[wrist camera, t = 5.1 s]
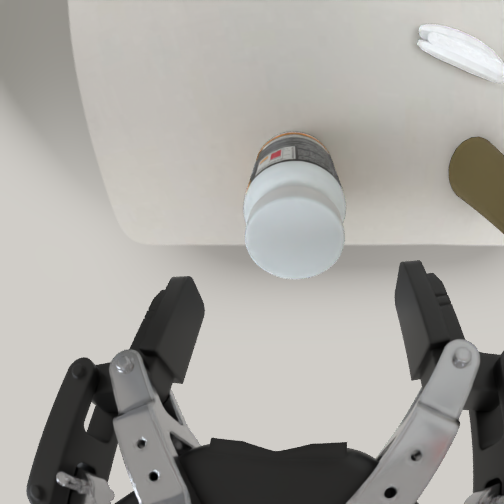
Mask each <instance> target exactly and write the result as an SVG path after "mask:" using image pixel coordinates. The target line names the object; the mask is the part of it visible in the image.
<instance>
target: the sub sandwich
mask: <svg viewBox="0 0 504 504" xmlns="http://www.w3.org/2000/svg"><path fill="white" fill-rule="evenodd" d="M419 35H420V37H421V38H422V39H424V40H420V39H418V43H417V45H418V46H419V47H420V48H421V49H422V50H423V51H425V52H427V53H429V54H430V55H432V56H434V57H436V58H438V59H440V60H442V61H444V62H447V63H449V64H451V65H453V66H455V67H457V68H460V69H462V70H464V71H467V72H469V73H471V74H473V75H476V76H479V77H481V78H484V79H486V80H488V81H491V82H495V83H499V84H501V83H503V82H504V77H502V76H504V64H503V61H502V60H501V58H500V57H499V56H498V55H497V54H496V53H495V52H494V51H493V50H492V49H491V48H490V47H489V46H487V45H486V44H484V43H483V42H482V41H480V40H479V39H477V38H475V37H473V36H471V35H469V34H467V33H465V32H463V31H461V30H458V29H454V28H451V27H448V26H444V25H440V24H425V25H422V26H420V28H419Z"/></svg>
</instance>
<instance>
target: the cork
mask: <svg viewBox="0 0 504 504" xmlns="http://www.w3.org/2000/svg"><path fill="white" fill-rule="evenodd" d="M449 181H450V184H451V187H452V189H453V191H454V192H455V193H456V195H457V196H458V197H460V198H461V199H462V200H464V201H465V202H466V203H468V204H469V205H470V206H471V207H473V208H474V209H475V210H476V211H478V212H479V213H480V214H481V215H482V216H484V217H485V218H486V219H487V220H488V221H490V222H491V223H492V224H493V225H494V226H495V227H496V228H498V229H499V230H500V231H501V232H502V233H503V234H504V155H503V154H502V153H501V152H500V151H499V150H498V149H497V148H496V147H495V146H493V145H492V144H491V143H490V142H489V141H488V140H487V139H484V138H481V137H473V138H470V139H468V140H466V141H464V142H462V144H461V145H460V146H459V147H458V148H457V149H456V150H455V152H454V154H453V156H452V158H451V162H450V166H449Z"/></svg>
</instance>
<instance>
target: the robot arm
mask: <svg viewBox="0 0 504 504" xmlns="http://www.w3.org/2000/svg"><path fill="white" fill-rule="evenodd" d="M395 306H396V310H397V314H398V318H399V322H400V326H401V331H402V335H403V339H404V344H405V348H406V353H407V358H408V363H409V369H410V374H411V380H418V379H421V384H422V388H421V389H420V391H419V393H418V395H417V397H416V398H415V400H414V402H413V404H412V405H411V407H410V409H409V410H408V412H407V414H406V415H405V417H404V419H403V420H402V422H401V423H400V425H399V427H398V428H397V430H396V431H395V432H394V434H393V435H392V437H391V438H390V439H389V441H388V442H387V444H386V445H385V446H384V448H383V449H382V450H381V452H380V453H379V455H378V456H377V457H376V459H375V458H373V457H371V456H370V455H368V454H366V453H363V452H361V451H358V450H354V449H349V448H347V442H342V443H323V444H310V445H305V446H301V447H297V448H292V449H288V450H283V451H271V450H268V449H264V448H262V447H258V446H255V445H252V444H249V443H246V442H243V441H234V440H225V439H217V438H211V442H210V444H208V445H203V446H201V445H200V444H199V442H198V440H197V439H196V438H195V436H194V435H193V434H192V432H191V431H190V430H189V428H188V426H187V424H186V422H185V420H184V417H183V415H182V413H181V411H180V409H179V406H178V404H177V402H176V399H175V397H174V394H173V392H172V390H171V385H172V383H181V384H183V381H184V378H185V375H186V372H187V368H188V365H189V362H190V359H191V356H192V352H193V349H194V346H195V343H196V340H197V336H198V333H199V330H200V327H201V324H202V321H203V318H204V311H205V310H204V303H203V301H202V298H201V296H200V294H199V292H198V290H197V287H196V285H195V283H194V281H193V279H192V278H191V277H190V276H184V277H172V278H171V279H170V281H169V283H168V286H167V287H166V289H165V290H162V291H160V293H159V294H158V295H157V296H156V297H155V298H154V299H153V301H152V303H151V305H150V307H149V311H147V313H146V315H145V319H143V322H142V323H141V326H140V328H139V330H138V332H137V334H136V336H135V338H134V341H133V343H132V345H131V347H130V349H129V350H124V351H122V352H120V353H118V354H117V355H116V356H115V357H114V358H113V360H112V361H111V363H105V364H99V365H95V364H94V363H93V362H92V361H91V360H90V359H88V358H79V359H78V360H76V361H74V363H72V364H71V366H70V367H69V369H68V372H67V374H66V376H65V378H64V380H63V383H62V385H61V387H60V390H59V392H58V394H57V397H56V400H55V402H54V405H53V407H52V410H51V412H50V415H49V417H48V420H47V423H46V425H45V428H44V431H43V434H42V437H41V440H40V443H39V446H38V449H37V452H36V455H35V458H34V462H33V465H32V469H31V472H30V476H29V480H28V484H27V496H28V499H29V501H30V503H31V504H111V502H110V501H112V500H113V499H114V492H113V491H112V490H111V489H110V487H109V485H108V483H107V482H108V479H109V475H110V471H111V467H112V463H113V458H114V455H115V452H116V448H117V444H119V447H120V451H121V454H122V457H123V460H124V463H125V466H126V469H127V472H128V475H129V478H130V481H131V483H132V486H133V489H134V491H133V492H131V493H130V494H128V495H127V496H125V497H124V498H122V499H121V500H119V501H118V502H117V503H115V504H418V503H417V500H418V498H419V497H420V495H421V494H422V492H423V491H424V489H425V488H426V486H427V485H428V483H429V482H430V480H431V479H432V477H433V475H434V474H435V472H436V471H437V469H438V467H439V466H440V464H441V462H442V460H443V459H444V457H445V455H446V453H447V451H448V449H449V448H450V446H451V444H452V442H453V440H454V438H455V436H456V434H457V432H458V429H459V426H460V422H459V417H460V414H461V412H462V410H469V415H470V423H471V433H472V445H473V446H472V447H473V494H472V495H471V496H469V498H468V499H467V500H466V501H465V503H464V504H504V351H503V353H502V354H501V355H497V354H488V353H481V352H478V350H477V348H476V347H475V346H474V345H473V344H472V343H471V342H469V341H467V340H465V338H464V335H463V333H462V330H461V327H460V324H459V322H458V319H457V316H456V314H455V311H454V309H453V306H452V304H451V301H450V299H449V297H448V295H447V292H446V290H445V287H444V285H443V283H442V281H441V280H440V279H439V278H438V277H437V276H436V275H435V274H434V273H429V274H426V271H425V269H424V267H423V265H422V263H421V261H420V260H417V261H406V262H401V263H400V266H399V272H398V278H397V284H396V289H395ZM91 402H92V403H94V404H95V405H96V406H95V409H94V412H93V415H92V418H91V421H90V424H89V427H88V430H87V432H86V431H85V429H84V421H85V418H86V415H87V412H88V410H89V407H90V404H91Z"/></svg>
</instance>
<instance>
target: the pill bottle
mask: <svg viewBox="0 0 504 504" xmlns="http://www.w3.org/2000/svg"><path fill="white" fill-rule="evenodd" d="M243 210H244V218H245V221H246V230H245V243H246V247H247V250H248V253H249V255H250V256H251V258H252V259H253V261H254V262H255V263H256V264H257V265H258V266H259V267H260V268H262V269H263V270H265V271H266V272H268V273H270V274H272V275H275V276H278V277H281V278H286V279H303V278H310V277H313V276H316V275H318V274H321V273H323V272H324V271H326V270H327V269H329V268H330V267H331V266H332V265H333V264H334V263H335V262H336V261H337V260H338V258H339V257H340V255H341V252H342V250H343V247H344V242H345V233H344V227H343V222H344V219H345V214H346V201H345V196H344V192H343V189H342V186H341V184H340V181H339V178H338V176H337V173H336V170H335V167H334V164H333V161H332V159H331V157H330V155H329V153H328V151H327V149H326V148H325V146H324V145H323V144H322V143H321V142H320V141H319V140H317V139H316V138H314V137H313V136H311V135H308V134H306V133H301V132H286V133H282V134H279V135H276V136H274V137H273V138H271V139H270V140H269V141H268V142H266V144H265V145H264V146H263V147H262V148H261V150H260V152H259V154H258V156H257V159H256V163H255V165H254V168H253V172H252V175H251V178H250V182H249V185H248V188H247V191H246V194H245V199H244V207H243Z"/></svg>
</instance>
